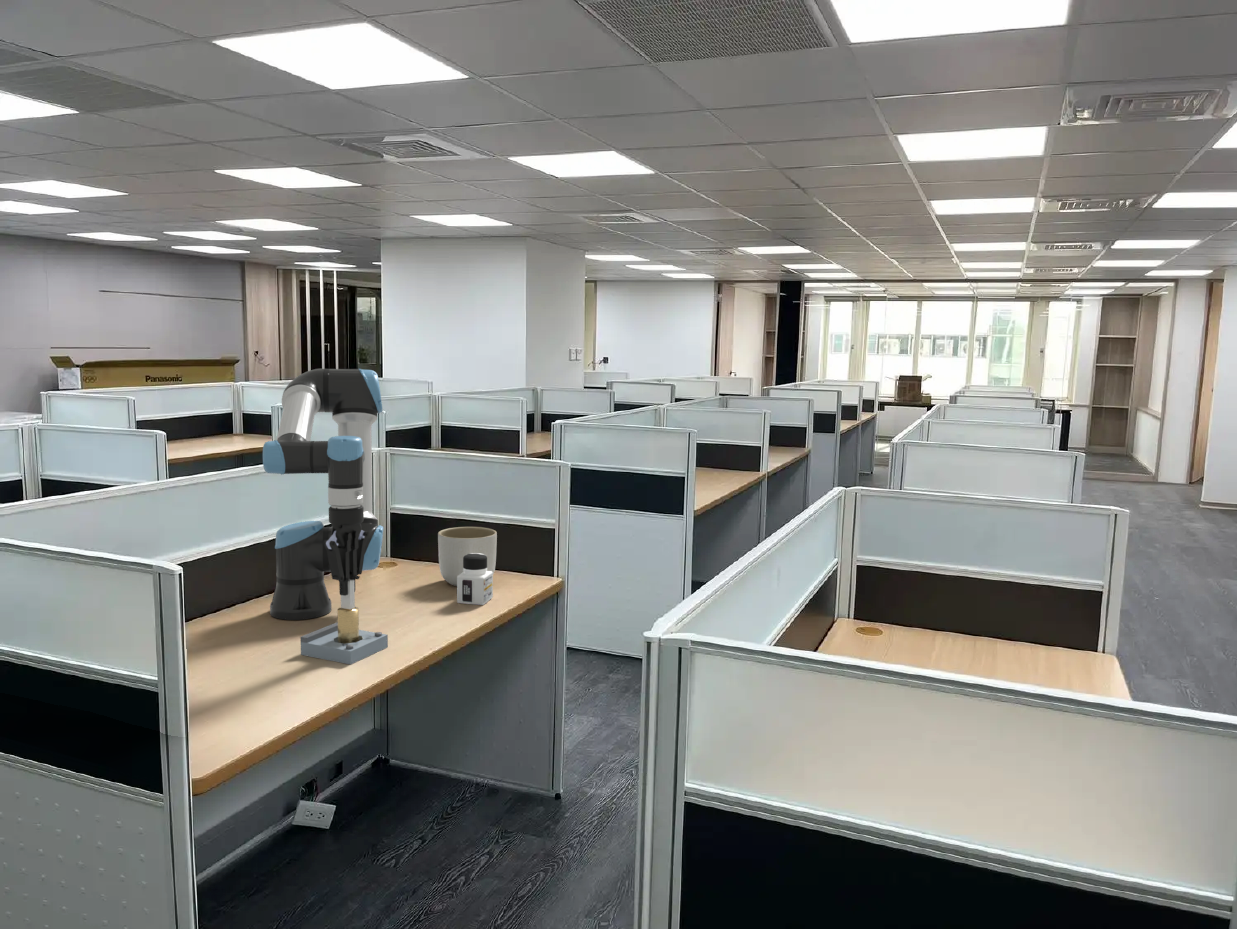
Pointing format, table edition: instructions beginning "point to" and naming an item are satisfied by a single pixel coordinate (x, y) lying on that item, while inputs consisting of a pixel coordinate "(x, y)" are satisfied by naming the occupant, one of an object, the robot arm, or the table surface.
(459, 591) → the container
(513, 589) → the table surface
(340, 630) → the brass cylinder
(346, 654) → the jig
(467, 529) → the planter
